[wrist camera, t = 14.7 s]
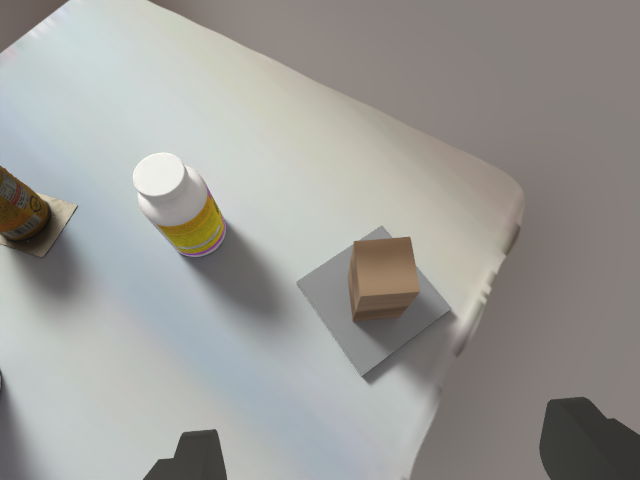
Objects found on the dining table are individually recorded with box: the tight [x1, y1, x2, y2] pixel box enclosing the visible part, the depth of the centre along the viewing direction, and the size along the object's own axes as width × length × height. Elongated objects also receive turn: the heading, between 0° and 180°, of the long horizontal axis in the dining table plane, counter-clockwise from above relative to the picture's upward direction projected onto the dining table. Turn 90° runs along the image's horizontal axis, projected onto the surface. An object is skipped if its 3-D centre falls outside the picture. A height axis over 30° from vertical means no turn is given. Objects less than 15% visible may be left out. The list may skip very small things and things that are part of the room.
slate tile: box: [297, 226, 451, 376], centre depth 44 cm, size 12×12×1 cm
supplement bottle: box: [133, 153, 226, 257], centre depth 42 cm, size 7×7×13 cm
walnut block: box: [348, 237, 420, 321], centre depth 39 cm, size 5×5×10 cm
